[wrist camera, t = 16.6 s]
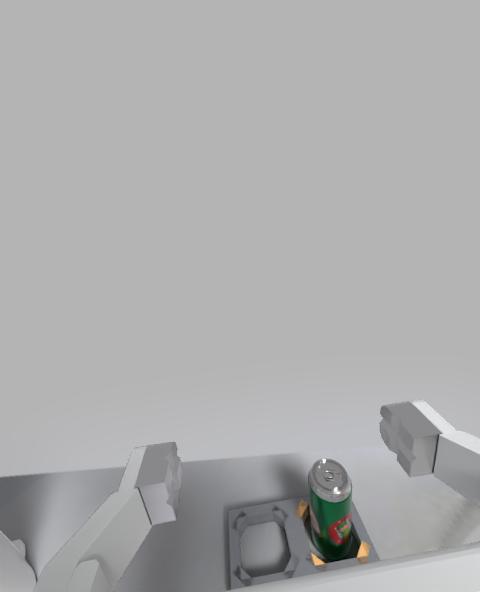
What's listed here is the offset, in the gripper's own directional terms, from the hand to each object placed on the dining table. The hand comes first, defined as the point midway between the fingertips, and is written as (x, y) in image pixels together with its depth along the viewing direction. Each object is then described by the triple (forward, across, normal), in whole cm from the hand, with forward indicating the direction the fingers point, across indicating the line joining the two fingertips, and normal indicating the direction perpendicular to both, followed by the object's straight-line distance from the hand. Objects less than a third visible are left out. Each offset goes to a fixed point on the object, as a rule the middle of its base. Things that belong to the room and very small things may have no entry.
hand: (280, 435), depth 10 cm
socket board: (+14, -3, +35) cm, 38 cm away
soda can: (+14, -8, +35) cm, 39 cm away
